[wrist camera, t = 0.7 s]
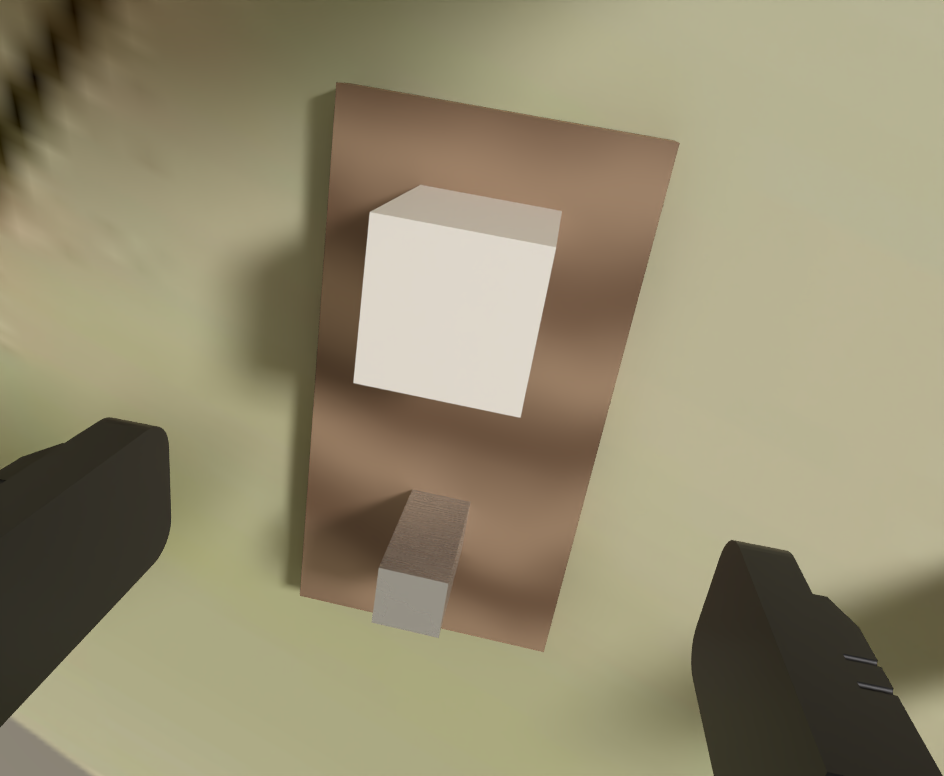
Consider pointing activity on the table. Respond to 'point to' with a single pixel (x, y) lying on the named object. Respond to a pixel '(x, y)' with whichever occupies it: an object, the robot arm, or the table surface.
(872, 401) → the table surface
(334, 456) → the board
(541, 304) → the white rectangular block
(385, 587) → the post
